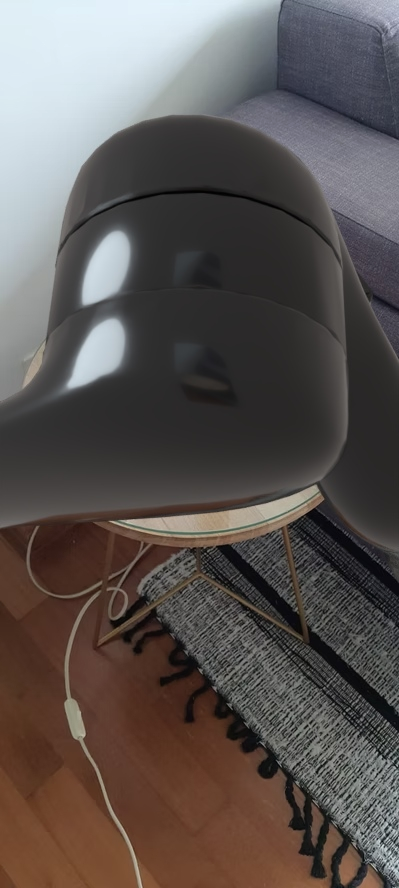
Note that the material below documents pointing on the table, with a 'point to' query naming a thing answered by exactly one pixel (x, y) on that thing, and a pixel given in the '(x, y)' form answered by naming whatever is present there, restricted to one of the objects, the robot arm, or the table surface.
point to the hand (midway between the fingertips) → (250, 257)
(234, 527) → the table surface
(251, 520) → the table surface
